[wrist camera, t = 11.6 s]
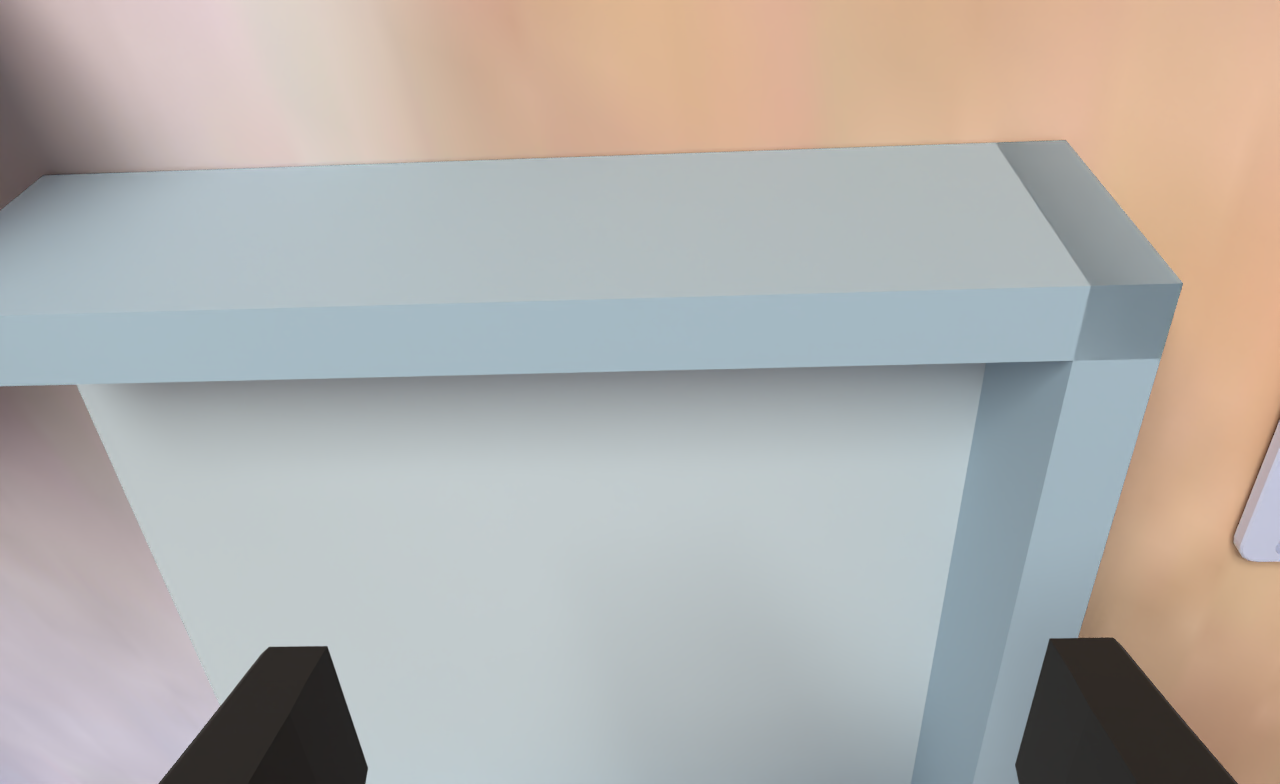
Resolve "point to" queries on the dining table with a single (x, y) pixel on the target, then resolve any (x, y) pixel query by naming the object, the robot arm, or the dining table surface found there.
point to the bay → (617, 441)
